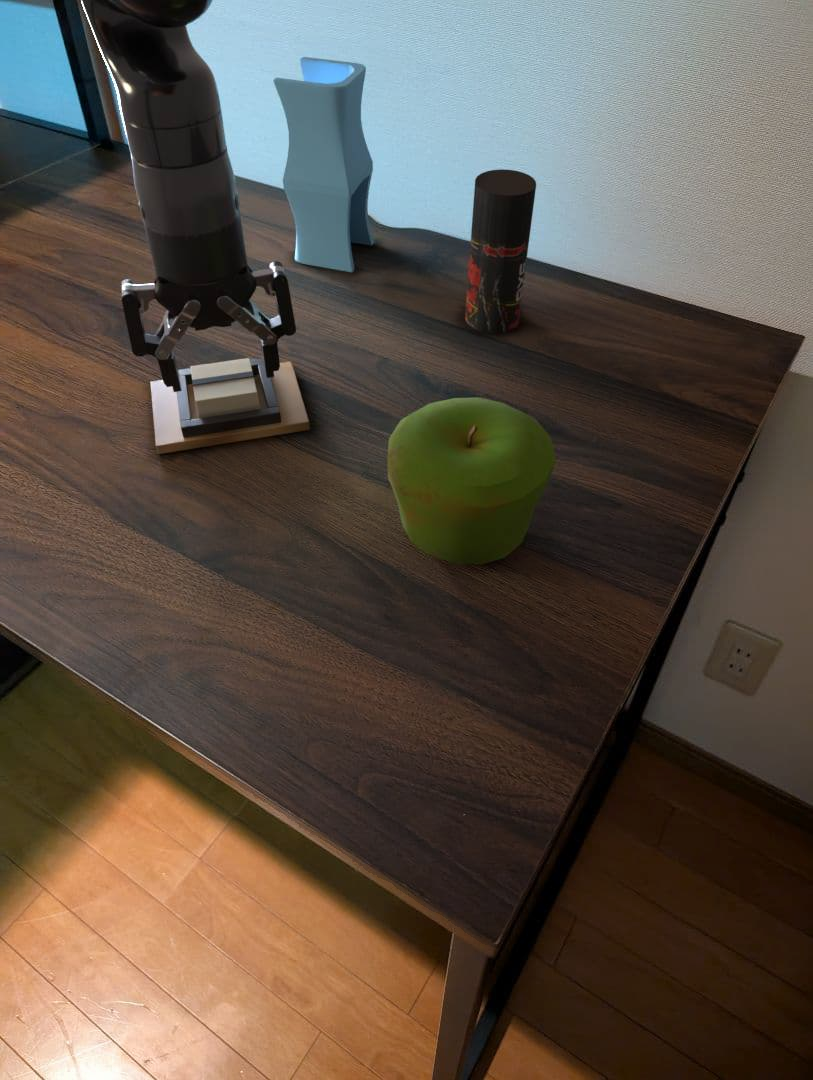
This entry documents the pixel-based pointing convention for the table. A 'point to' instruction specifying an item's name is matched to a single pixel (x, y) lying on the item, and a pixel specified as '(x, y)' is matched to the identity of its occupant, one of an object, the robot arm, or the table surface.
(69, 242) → the table surface
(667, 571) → the table surface
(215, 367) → the ivory pad
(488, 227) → the deodorant
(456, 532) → the apple
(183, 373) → the base pad
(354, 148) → the vase
